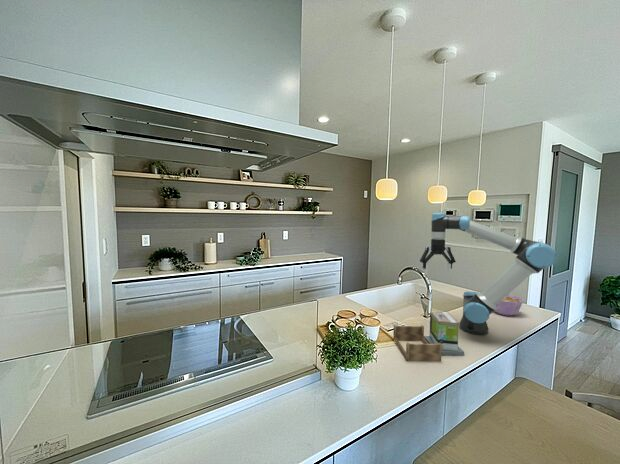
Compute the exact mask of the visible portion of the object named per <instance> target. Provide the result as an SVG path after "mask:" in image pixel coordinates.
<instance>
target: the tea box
mask: <svg viewBox="0 0 620 464" xmlns="http://www.w3.org/2000/svg"><path fill="white" fill-rule="evenodd" d="M429 314H430V316H429V336H430V338H431V339H432V341H433V342H434V344H438V343H441V344H442V350H452V351H457V350H458V347H459V335H460V334H459V331H460V330H459V329H460V327H459V323H460V321H458V320H457V319H456V318H455V317H454V316H453V315H452V314H451V313H450V312H446V311H445V312H444V311H434V310H433V311H432V310H431V311H430V313H429Z"/></svg>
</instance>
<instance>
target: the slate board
mask: <svg viewBox="0 0 620 464" xmlns="http://www.w3.org/2000/svg"><path fill="white" fill-rule="evenodd" d="M424 338H425V340H426V341H427V342H428V343H429V344H434V342H433V341H432V339H431V338H430V335H424ZM443 356H446V357H447V356H448V357H449V356H452V357H455V356H457V357H459V356H461V357H464V356H465V351H464V350H463V349H462V348H461V347H460V346H458V350H457V351H452V350H442V354H441V357H443Z"/></svg>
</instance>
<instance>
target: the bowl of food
mask: <svg viewBox="0 0 620 464" xmlns="http://www.w3.org/2000/svg"><path fill="white" fill-rule="evenodd" d="M523 302H524V300H523V299H522V298H520V297H517V296H515V295H511V294H508V295H507V296H506V297H505V298H503V299H502V300H501V301H500V302H499V303H498V304H496V310H495V311H494V312H496V313H497V314H499V315H501V316H508V317H510V316H514V315H516V314H518V313H520V310H521V307H522V305H523Z"/></svg>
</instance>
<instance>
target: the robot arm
mask: <svg viewBox="0 0 620 464" xmlns="http://www.w3.org/2000/svg"><path fill="white" fill-rule="evenodd" d="M446 230H459V231H462V232H464V233H467V234H470V235H472V236H475V237H477V238H479V239H482V240H484V241H487V242H490V243H492V244H493V245H494V244H495V245H498V246H499V247H502V248H504V249H507V250H509V251H510V253H512V254H515V255H517V256H515V257H514V258H515V262H514V263H513V264H512V265H511V266H510V267H509V268H507V269H506V270H505V271H504V272H503V273H501V274H500V276H499V277H497V278H496V279H495V280H494V281H492V283H490V285H488V286H487V287H486V288H485V289H484V290H483V291H482V292H478V291H467V290H466V291H464V292H463V295H462V296H463V303H462V305H463V306H462V308H463V309H462V317H461V319H460V321H459V329H461V331H464V332H466V333H468V334H472V335H478V336H483V335H485V336H486V335H488V334H489V327H488V323H487V321H488V320H489V318H490V315H491V314H493V313H494V312H496V311H495V310H496V304H498V303H499V302H500V301H501V300H502V299H503V298H505V297H506V296H507V295H510V293H511V292H513V291H514V290H515V289H516V288H517V287H519V285H521V284H522V283H523V282H524V281H525V280H527V279H528V278H529V277H530V276H531V275H533V274H539V273H540V272H542V271H543V270H544V269H545V268H549V267H551V266H553V265H554V264H555V263H556V262H557V260H558V255H557V254H558V253H557V252H556V250H555V249H554V248H553V247H552V246H550V244H547V243H544V242H540V241H536V240H532V239H531V240H530V239H526V238H525V237H521V236H520V237H516V236H513V235H511V234H508V233H506V232H502V231H501V230H497V229H494V228H492V227H489V226H487V225H484V224H481V223H478V222H476V221H474V220H471V218H470V216H468V215H467V216H466V215H461V216H460V215H456V216H455V215H454V216H453V215H452V216H451V215H449V216H448V215H447V214H446V212H433V213H432V214H431V234H430V235H431V236H430V238H431V239H430V245H431V246H425V249H424V252H423V254H422V255H421V257H420V259H419V262H420V263H422V269H423V274H424V275H427V276H428V268H429V267H428V262H429V260H430V259H431V258H432V257H434V255H440V256H441V255H442V256H443V258H444V259H445V260H446V261H447V263H446V274H447V275H449V276H451V271H452V269H453V264H454V263H456V262H457V261H456V259H455V257H454V255H453V253H452V249H451V247H450V246H446ZM445 251H446V252H447V254H446V252H445ZM428 253H429V254H428Z"/></svg>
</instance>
